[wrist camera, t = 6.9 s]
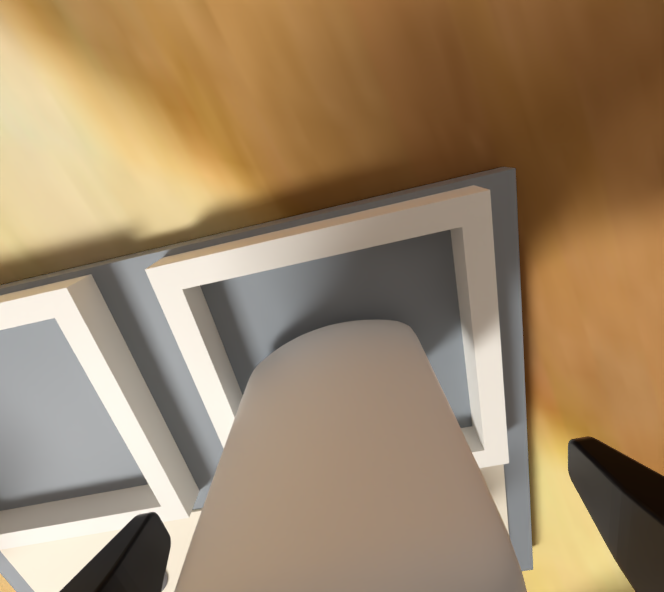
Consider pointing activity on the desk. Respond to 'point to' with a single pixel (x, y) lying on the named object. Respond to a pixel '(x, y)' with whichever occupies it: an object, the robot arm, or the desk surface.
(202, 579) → the white bottle
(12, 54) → the desk surface
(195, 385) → the board
